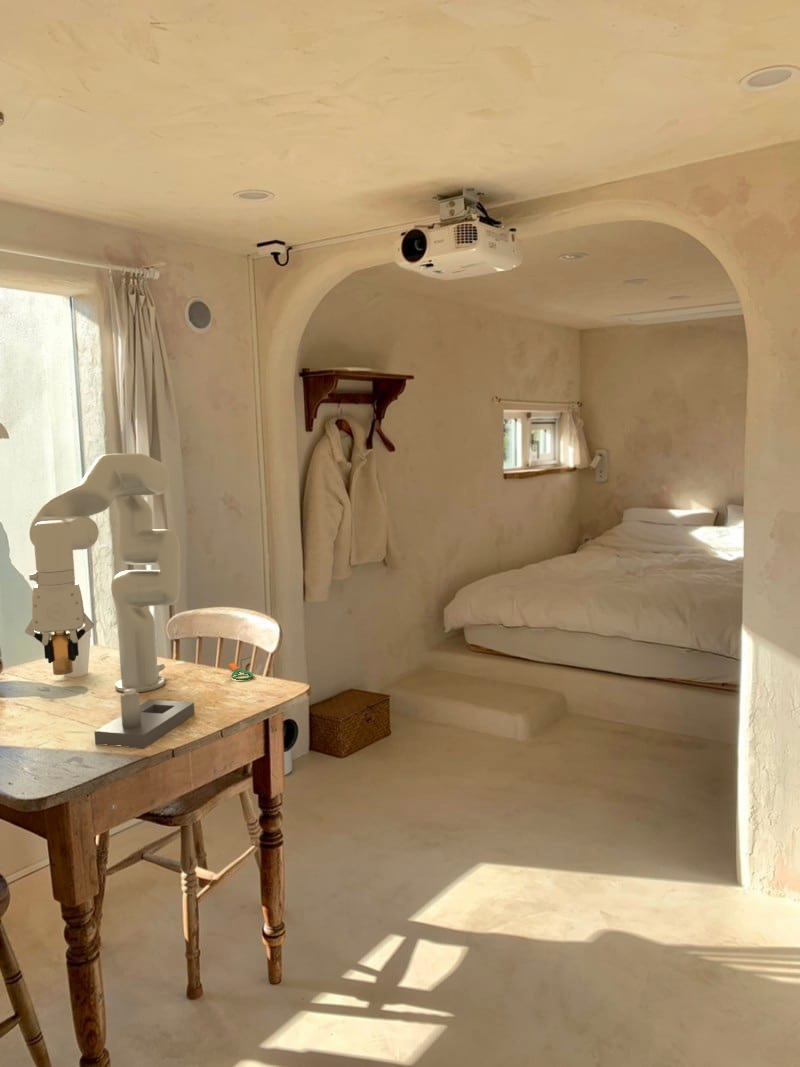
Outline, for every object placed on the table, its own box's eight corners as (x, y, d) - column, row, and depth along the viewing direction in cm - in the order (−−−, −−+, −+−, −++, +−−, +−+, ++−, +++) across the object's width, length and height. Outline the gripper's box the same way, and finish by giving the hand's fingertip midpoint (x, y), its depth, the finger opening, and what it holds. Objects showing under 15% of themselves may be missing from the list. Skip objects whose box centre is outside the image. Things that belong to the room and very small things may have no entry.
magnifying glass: (256, 680, 224) (255, 674, 224) (234, 684, 222) (234, 678, 221) (242, 667, 238) (242, 661, 238) (222, 670, 235) (221, 664, 235)
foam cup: (51, 677, 230) (47, 632, 228) (73, 668, 239) (70, 625, 237) (79, 679, 227) (76, 634, 226) (100, 670, 236) (97, 626, 234)
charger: (150, 711, 199) (147, 667, 198) (194, 714, 196) (192, 670, 195) (95, 744, 178) (92, 695, 177) (144, 748, 175) (141, 698, 174)
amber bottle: (61, 669, 181) (57, 625, 179) (76, 670, 180) (73, 625, 178) (49, 674, 177) (45, 629, 175) (65, 675, 176) (61, 630, 174)
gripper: (10, 583, 170) (17, 669, 172) (95, 578, 174) (101, 661, 176) (17, 577, 177) (23, 659, 179) (98, 572, 181) (104, 652, 184)
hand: (62, 659), depth 178 cm, fingers closed on amber bottle, 4 cm apart
